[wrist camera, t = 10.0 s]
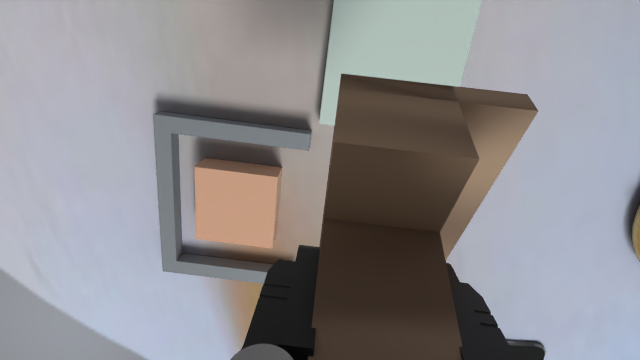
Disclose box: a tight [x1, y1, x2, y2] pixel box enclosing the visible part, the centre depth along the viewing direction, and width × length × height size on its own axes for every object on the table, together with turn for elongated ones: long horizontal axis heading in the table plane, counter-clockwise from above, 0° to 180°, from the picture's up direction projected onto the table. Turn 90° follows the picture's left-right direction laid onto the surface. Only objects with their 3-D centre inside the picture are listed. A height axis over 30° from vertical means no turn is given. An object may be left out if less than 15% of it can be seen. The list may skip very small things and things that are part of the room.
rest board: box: [319, 0, 482, 126], centre depth 22 cm, size 13×9×1 cm
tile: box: [195, 158, 282, 248], centre depth 26 cm, size 6×6×2 cm
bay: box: [153, 112, 312, 284], centre depth 27 cm, size 13×11×1 cm
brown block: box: [308, 73, 538, 360], centre depth 8 cm, size 8×5×11 cm, turn 174°
